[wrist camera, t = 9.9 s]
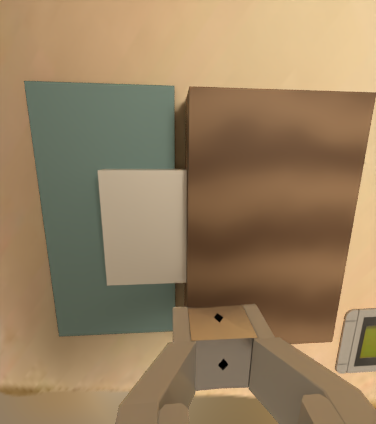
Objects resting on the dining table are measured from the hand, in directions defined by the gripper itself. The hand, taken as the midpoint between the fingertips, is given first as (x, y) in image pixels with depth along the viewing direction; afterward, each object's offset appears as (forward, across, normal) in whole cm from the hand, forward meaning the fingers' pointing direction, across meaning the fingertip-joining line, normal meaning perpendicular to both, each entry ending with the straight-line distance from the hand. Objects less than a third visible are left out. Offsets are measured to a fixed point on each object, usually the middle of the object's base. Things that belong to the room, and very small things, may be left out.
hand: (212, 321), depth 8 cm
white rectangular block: (+14, +4, 0) cm, 15 cm away
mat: (+15, +7, +1) cm, 16 cm away
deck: (+15, -7, +1) cm, 16 cm away
